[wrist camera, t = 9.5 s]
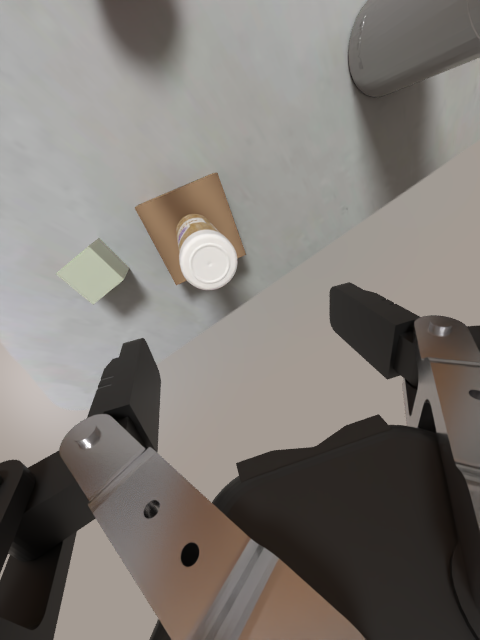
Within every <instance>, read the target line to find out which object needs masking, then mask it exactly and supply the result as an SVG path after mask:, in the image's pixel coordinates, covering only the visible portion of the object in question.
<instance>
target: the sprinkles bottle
mask: <svg viewBox="0 0 480 640" xmlns="http://www.w3.org/2000/svg"><path fill="white" fill-rule="evenodd" d="M176 236H177V241H178V247H179V251H180V253H179V262H180V268H181V271H182V273H183V276H184V277H185V279H186V280H187V281H188V282H189V283H190V284H191V285H193V286H195V287H196V288H199V289H202V290H215V289H218V288H221V287H223V286H224V285H226V284H227V283H228V282H229V281H230V280H231V279H232V278H233V276H234V274H235V272H236V269H237V263H238V260H237V254H236V251H235V249H234V247H233V245H232V244H231V242H230V241H229V240H228V239H227V238H226V237H225V236H224V235H222V234H221V233H220V232H219V231H218V230H217V229H216V228H215V227H214V226H213V225H212V224H211V223H210V222H209V220H208V219H206V218H205V217H204V216H202V215H199V214H189V215H187V216H185V217H183V218H182V219H181V220H180V221H179V223H178V225H177V229H176Z"/></svg>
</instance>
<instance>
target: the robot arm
mask: <svg viewBox="0 0 480 640" xmlns="http://www.w3.org/2000/svg"><path fill="white" fill-rule="evenodd" d="M348 55H349V67H350V72H351V75H352V78H353V80H354V82H355V84H356V85H357V87H358V88H359V89H360V90H361V91H362V92H363V93H364V94H366V95H368V96H371V97H380V96H385V95H387V94H390V93H392V92H395V91H397V90H400V89H402V88H405V87H407V86H410V85H412V84H415V83H417V82H420V81H422V80H425V79H427V78H430V77H432V76H435V75H437V74H440V73H442V72H445V71H447V70H450V69H452V68H455V67H457V66H460V65H462V64H465V63H467V62H470V61H472V60H475V59H477V58H480V0H368V1H367V2H366V4H365V5H364V6H363V7H362V9H361V11H360V12H359V14H358V16H357V18H356V20H355V23H354V26H353V28H352V32H351V36H350V41H349V51H348ZM330 323H331V326H332V328H333V330H334V331H335V332H336V333H337V334H338V335H339V336H340V337H341V338H342V339H343V340H345V341H346V342H347V343H348V344H349V345H350V346H351V347H352V348H353V349H354V350H355V351H357V352H358V353H359V354H360V355H361V356H362V357H363V358H364V359H366V361H368V362H369V363H370V364H371V365H372V366H373V367H374V368H375V369H376V370H377V371H379V372H380V373H381V374H382V375H383V376H384V377H385V378H386V379H390V378H393V377H396V376H400V375H401V376H402V377H403V384H402V386H403V395H404V405H405V414H406V423H407V426H403V425H388V424H387V423H386V422H385V421H384V420H383V419H382V418H381V416H380V415H375V416H372V417H369V418H367V419H364V420H361V421H358V422H355V423H352V424H349V425H346V426H344V427H343V428H341V429H340V430H339V431H337V432H336V433H334V434H333V435H332V436H330V437H329V438H327V439H326V440H324V441H323V442H322V443H320V444H319V445H317V446H315V447H311V448H298V449H286V450H274V451H270V452H267V453H264V454H262V455H259V456H256V457H253V458H250V459H247V460H244V461H241V462H239V463H236V464H237V469H238V473H239V476H238V477H237V478H235V479H234V480H232V481H231V482H230V483H229V484H228V485H227V486H225V487H224V488H223V489H222V491H221V492H220V493H219V494H218V495H217V496H216V497H215V499H214V500H213V502H212V503H211V502H210V501H209V500H208V499H207V498H206V497H205V496H204V495H203V494H201V492H199V491H198V490H197V489H196V488H195V487H194V486H193V485H192V484H191V483H190V482H188V481H187V480H186V479H185V478H184V477H183V476H182V475H181V474H180V473H178V472H177V471H176V470H175V469H174V468H173V467H172V466H171V465H170V464H169V463H168V462H167V461H166V460H164V459H163V458H162V457H161V456H160V455H159V454H158V453H157V450H158V429H159V408H160V387H161V379H160V374H159V370H158V368H157V365H156V363H155V361H154V358H153V356H152V354H151V352H150V349H149V347H148V345H147V343H146V341H145V339H144V338H141V339H137V340H134V341H130V342H126V343H124V344H123V346H122V349H121V352H120V356H119V358H115V359H112V361H111V362H110V363H109V364H108V365H107V366H106V368H105V369H104V371H103V374H102V377H101V381H100V383H99V385H98V389H97V391H96V394H95V397H94V400H93V402H92V405H91V408H90V411H89V414H88V417H87V418H86V419H85V420H83V421H81V422H80V423H78V424H77V425H76V426H74V427H73V428H72V429H71V430H70V431H69V432H68V433H67V434H66V436H65V437H64V439H63V440H62V443H61V445H60V448H59V451H57V452H56V453H54V454H52V455H50V456H48V457H47V458H45V459H43V460H41V461H40V462H38V463H36V464H34V465H32V466H30V467H29V468H27V467H26V466H25V465H23V464H22V463H21V462H20V461H18V460H8V461H5V462H2V463H0V572H1V570H2V567H3V565H4V562H5V560H6V557H7V555H8V554H10V557H9V559H8V562H7V564H6V567H5V570H4V572H3V575H2V577H1V580H0V640H53V638H54V633H55V628H56V624H57V620H58V615H59V610H60V605H61V601H62V597H63V592H64V587H65V583H66V578H67V573H68V569H69V565H70V560H71V555H72V551H73V546H74V542H75V537H76V532H77V531H78V530H79V529H81V528H82V527H84V526H85V525H87V524H88V523H89V522H91V521H92V520H94V519H95V518H96V519H97V521H98V523H99V524H100V526H101V527H102V529H103V531H104V532H105V534H106V535H107V537H108V538H109V540H110V542H111V543H112V545H113V546H114V548H115V550H116V551H117V553H118V555H119V556H120V558H121V559H122V561H123V563H124V564H125V566H126V567H127V569H128V571H129V572H130V574H131V575H132V577H133V579H134V580H135V582H136V583H137V585H138V587H139V588H140V590H141V591H142V593H143V595H144V596H145V598H146V599H147V601H148V603H149V604H150V606H151V607H152V609H153V611H154V612H155V614H156V615H157V617H158V621H157V624H156V626H155V628H154V630H153V633H152V635H151V637H150V640H480V326H470V327H469V326H468V327H467V326H466V325H465V324H463V323H462V322H460V321H458V320H456V319H453V318H449V317H445V316H436V315H435V316H432V315H431V316H424V317H419V316H417V315H416V314H414V313H412V312H410V311H408V310H406V309H404V308H403V307H401V306H399V305H397V304H394V303H393V302H392V301H390V300H388V299H387V300H386V298H384V297H382V296H380V295H378V294H377V293H374V292H370V291H365V290H363V289H361V288H359V287H357V286H356V285H354V284H352V283H345V284H341V285H338V286H334V287H332V288H331V290H330Z"/></svg>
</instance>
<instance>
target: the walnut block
mask: <svg viewBox="0 0 480 640" xmlns="http://www.w3.org/2000/svg"><path fill="white" fill-rule="evenodd" d="M135 209H136V211H137V213H138V215H139V217H140V219H141V220H142V222H143V224H144V226H145V228H146V230H147V232H148V233H149V235H150V237H151V239H152V241H153V243H154V245H155V246H156V248H157V250H158V252H159V254H160V256H161V258H162V259H163V261H164V263H165V265H166V267H167V269H168V271H169V273H170V274H171V276H172V278H173V280H174V282H175V284H176V285H178V284H180V283H182V282H185V281H187V280H186V279H185V277H184V276H183V273H182V271H181V268H180V262H179V253H180V251H179V247H178V241H177V236H176V229H177V225H178V223H179V221H180V220H181V219H182V218H183V217H185V216H187V215H189V214H199V215H202V216H204V217H205V218H206V219H208V220H209V222H210V223H211V224H212V225H213V226H214V227H215V228H216V229H217V230H218V231H219V232H220V233H221V234H222V235H224V236H225V237H226V238H227V239H228V240H229V241H230V242H231V244H232V245H233V247H234V249H235V251H236V254H237V258H239V257H242V256H244V255H246V253H245V250H244V247H243V245H242V242H241V239H240V236H239V233H238V230H237V228H236V225H235V222H234V219H233V216H232V213H231V210H230V208H229V205H228V202H227V199H226V196H225V193H224V190H223V188H222V185H221V182H220V179H219V176H218V173H212V174H210V175H208V176H205V177H203V178H201V179H198V180H196V181H193V182H191V183H189V184H186V185H184V186H182V187H179V188H177V189H175V190H172V191H170V192H168V193H165V194H163V195H161V196H158V197H156V198H153V199H151V200H149V201H146V202H144V203H142V204H139V205H138V206H136V207H135Z"/></svg>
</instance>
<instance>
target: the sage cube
mask: <svg viewBox="0 0 480 640" xmlns="http://www.w3.org/2000/svg"><path fill="white" fill-rule="evenodd" d="M128 270H129V267H128V266H127V265H126V264H125V263H124V262H123V261H122V260H121V259H120V258H119V257H118V256H117V255H116V254H115V253H114V252H113V251H112V250H111V249H110V248H109V247H108V246H107V245H106V244H105V243H104V242H103V241H102V240H101V239H100V238H98V239H97V240H96V241H95V242H93V243H92V244H91V245H89V246H88V247H87V248H86V249H85V250H83V251H82V252H81V253H80V254H79V255H77V256H76V257H75V258H74V259H73V260H72V261H70V262H69V263H68V264H67V265H66V266H64V267H63V268H62V269H61V270H60V271H58V272H57V273H56V275H58V276H59V277H60V278H61V279H63V280H64V281H65V282H66V283H67V284H69V285H70V286H71V287H72V288H73V289H75V290H76V291H77V292H78V293H80V294H81V295H82V296H83V297H84V298H86V299H87V300H88V301H89V302H91V303H92V304H95V303H96V302H97V301H98V300H99V299H101V298H102V297H103V296H104V295H106V294H107V293H108V292H109V291H111V290H112V289H113V288H114V287H115V286H117V285H118V284H119V283H120V282H122V281H123V280H124V278H125V276H126V274H127V272H128Z"/></svg>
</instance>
